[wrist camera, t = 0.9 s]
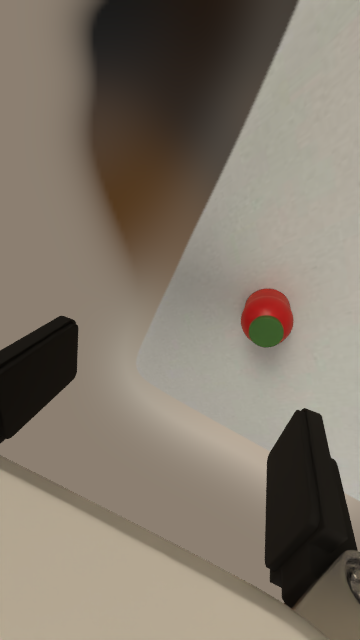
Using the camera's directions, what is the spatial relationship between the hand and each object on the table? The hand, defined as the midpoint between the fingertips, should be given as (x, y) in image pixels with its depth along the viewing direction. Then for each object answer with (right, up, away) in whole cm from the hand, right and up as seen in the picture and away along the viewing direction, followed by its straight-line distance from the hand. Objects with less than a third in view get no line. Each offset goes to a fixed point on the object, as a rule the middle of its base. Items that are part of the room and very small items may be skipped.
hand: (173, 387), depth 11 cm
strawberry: (+8, +4, +14) cm, 17 cm away
